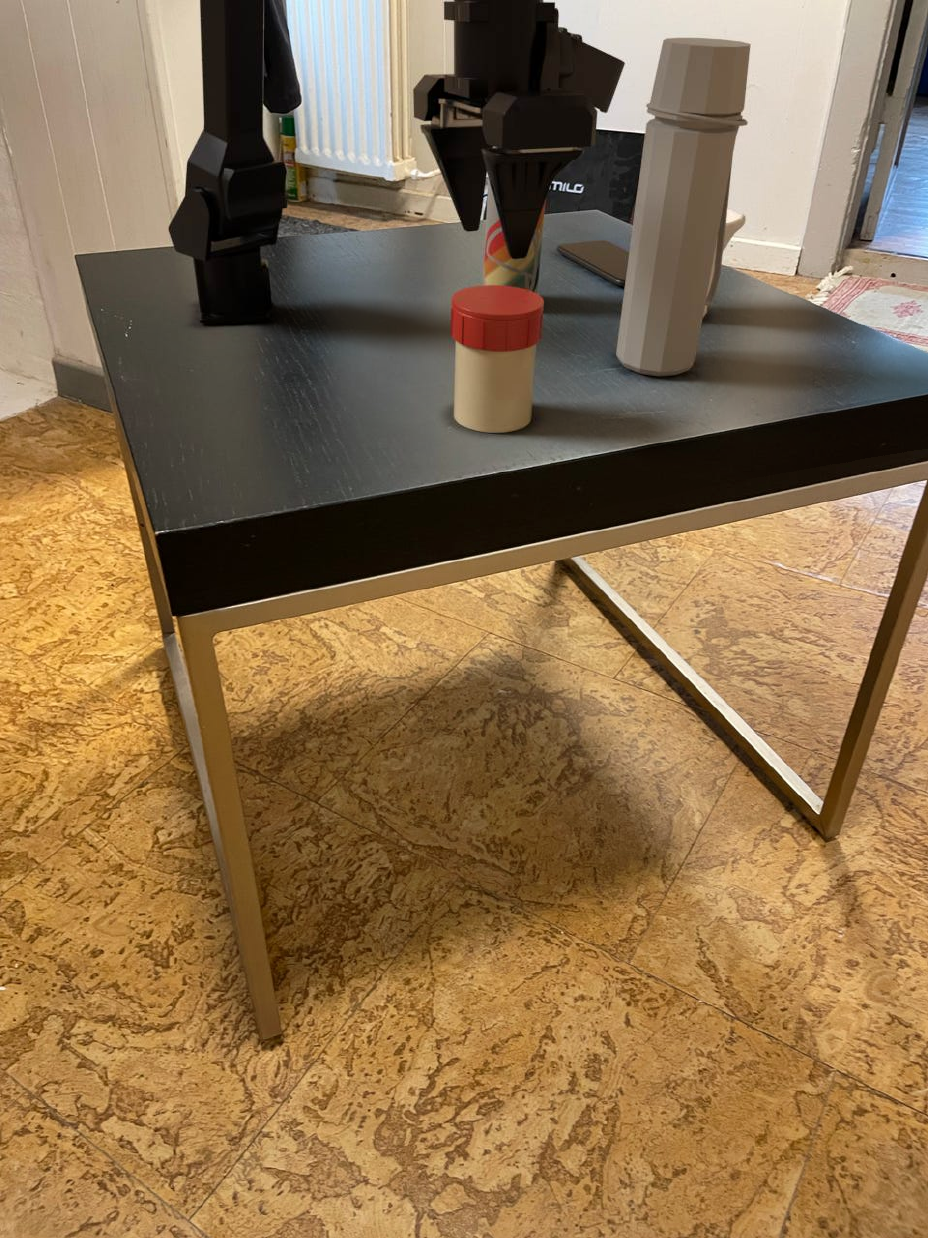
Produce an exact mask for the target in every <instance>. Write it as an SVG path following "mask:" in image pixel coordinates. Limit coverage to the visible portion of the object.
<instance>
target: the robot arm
mask: <svg viewBox="0 0 928 1238" xmlns="http://www.w3.org/2000/svg"><path fill="white" fill-rule="evenodd" d="M199 13H200V17H199V18H200V42H201V45H200V46H201V48H200V49H201V75H202V78H201V79H202V106H203V108H202V109H203V111H202V113H203V129H202V131H201V134H200V135H199V138H198V139H197V141H196V143H195V145H194V146H193V149H192V151H191V153H190V154H189V157H188V159H187V160H186V161H187V162H186V170H185V184H184V185H185V186H184V197H183V198H182V200H181V203H180V204H179V206H178V208H177V210H176V212H175V214H174V216H173V217H172V219H171V222H170V223H169V225H168V233H169V236H170V239H171V242H172V245H173V248H174V251H175V252H176V253H179V254H182V255H185V256H188V257H190V258H192V260H193V261H192V262H193V268H194V275H195V283H196V290H197V295H198V296H197V297H198V303H199V311H198V313H199V314H198V320H199V324H203V325H209V324H232V323H233V324H235V323H258V322H268V321H269V311H271V310H272V309H273V300H272V291H271V289H272V288H271V280H270V269H269V261H268V260H267V259H266V258H262V252H261V248H262V247H266V246H274V245H276V244H277V241H278V237H279V236H278V234H279V228H280V222H281V220H282V217H283V210H285V209H288V201H287V196H286V181H287V175H288V169H287V166H286V164H285V162H284V161H282V160H278V159H276V157H275V156H274V154H273V152H272V151H271V149H270V146H269V145H268V143H267V140H266V139H265V137H264V53H265V52H264V51H265V49H264V46H265V45H264V41H265V40H264V39H265V38H264V35H265V33H264V30H265V0H199ZM559 19H560V13H559V9H558V8H557V7H556V2H553V1H544V0H453V1H452V0H451V1H449V0H447V1H443V20H444V21H452V22H453V73H441V74H440V73H439V74H435V73H434V74H424V75H423V76H422V78H421V79H420V80H419V81H418V82H417V83H416V85H415V86H414V88H413V89H412V91H413V92H412V96H413V98H412V99H413V100H412V101H413V119H417V120H420V121H423V122H430V123H426V124H425V123H424V124H423V123H422V124H420V125H419V127H420V131H421V133H422V134H423V135H424V137H425V139H426V141H427V144H428V146H429V148H430V151H431V153H432V155H433V158H434V160H435V163H436V164H437V167H438V169H439V172H440V174H441V176H442V179H443V181H444V183H445V186H446V189H447V191H448V193H449V196H450V198H451V201H452V203H453V206H454V209H455V211H456V213H457V216H458V218H459V222H460V223H461V226H462V228H463V230H464V231H465V232H467V233H469V232H478V231H479V229H480V227H481V226H480V224H481V220H482V214H483V209H484V208H483V207H484V201H485V200H484V198H485V190H486V184H487V182H486V181H487V178H488V180H489V181H490V185H491V188H492V192H493V196H494V200H495V204H496V208H497V212H498V216H499V220H500V223H501V227H502V231H503V235H504V239H505V242H506V245H507V249H508V252H509V255H510V257H511V258H512V259H522V258H525V257H526V256H527V254H528V251H529V248H530V245H531V242H532V239H533V236H534V232H535V229H536V226H537V223H538V220H539V217H540V214H541V211H542V208H543V205H544V202H545V200H546V201H547V196H548V194H549V192H550V189H551V187H552V184H553V182H554V179H555V178H556V177H557V175H558V174H559V173H560V172H561V171H563V170H564V169H565V168H566V166H568V165H569V164H570V163H571V162H572V161H575V160H580V158H581V157H582V156H583V154H584V152H585V149H584V148H586V147H587V148H589V147H590V148H591V147H594V146H595V145H596V136H597V123H598V122H597V121H598V110H599V111H600V113H603V114H607V113H608V112H609V109H610V106H611V104H612V100H613V98H614V95H615V92H616V89H617V86H618V84H619V82H620V79H621V76H622V73H623V70H624V67H625V65H626V63H625V62H624V60H622V59H620V58H618V57H616V56H614V55H611V54H609V53H607V52H605V51H603V50H601V49H599V48H597V47H594V46H593V45H591V44H588V43H586V42H584V41H583V36H582V35H581V34H579V33H572V32H570V31H568V30H569V29H568V28H566V27H562V26H559ZM493 147H497V148H493Z"/></svg>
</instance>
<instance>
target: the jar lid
mask: <svg viewBox="0 0 928 1238" xmlns="http://www.w3.org/2000/svg"><path fill="white" fill-rule="evenodd" d="M544 307H545V300H544V298H543V297H542V296H541V295H539V294H538V293H537V294H536V293H534V292H532V291H529V290H526V289H522V288H518V287H512V286H502V285H483V284H482V285H475V286H470V287H466V288H462V289H460V290H458V291H456V292H454V294H453V295H452V296H451V308H450V335H451V337H452V338H453V340H454V341H455V342H456V341H457V342H459V343H461V344H463V345H465V346H468V347H471V348H475V349H480V350H488V351H516V350H520V349H525V348H529V347H531V346H533V345H535V344H537V345H538V343H540V341H541V340H542V336H543V335H542V333H543V322H544V321H543V320H544V310H545V309H544Z"/></svg>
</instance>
